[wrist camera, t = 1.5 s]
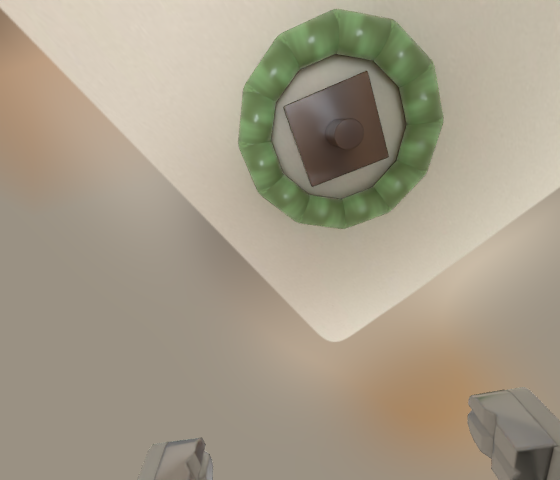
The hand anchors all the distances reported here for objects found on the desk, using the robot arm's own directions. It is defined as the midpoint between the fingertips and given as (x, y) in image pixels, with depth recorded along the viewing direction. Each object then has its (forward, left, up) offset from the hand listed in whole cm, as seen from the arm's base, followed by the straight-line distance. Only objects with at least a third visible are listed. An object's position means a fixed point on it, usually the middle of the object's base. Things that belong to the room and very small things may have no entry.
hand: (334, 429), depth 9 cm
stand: (-7, -6, -25) cm, 26 cm away
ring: (-7, -6, -23) cm, 25 cm away
